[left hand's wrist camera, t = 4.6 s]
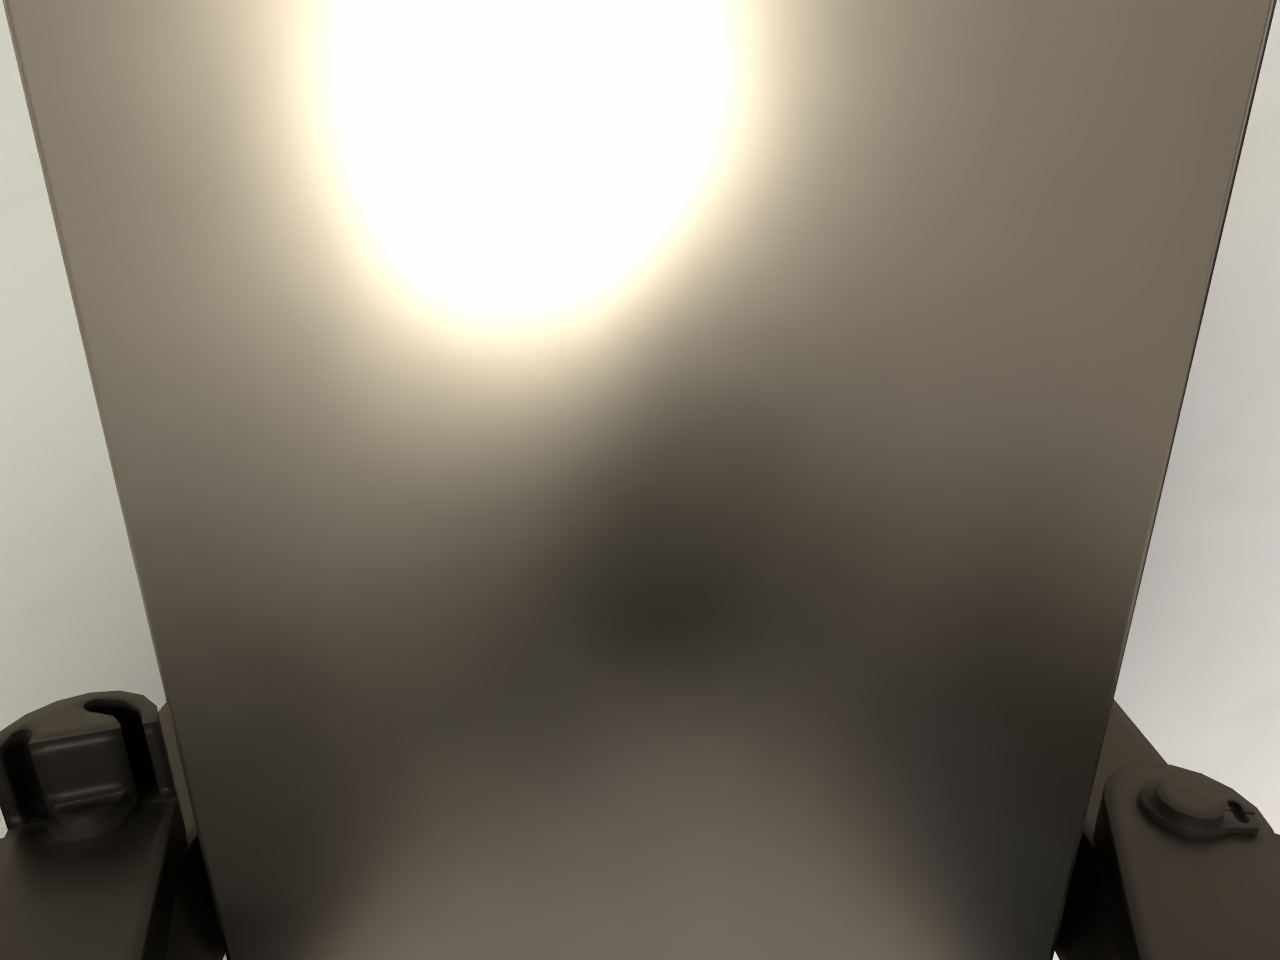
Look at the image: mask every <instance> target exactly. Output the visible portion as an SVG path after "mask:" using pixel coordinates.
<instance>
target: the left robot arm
mask: <svg viewBox="0 0 1280 960" xmlns="http://www.w3.org/2000/svg"><path fill="white" fill-rule="evenodd" d="M0 808H1V811H2V814H3V817H4V820H5V823H6V826H7V829H8V831H7V833H6V835H5V837H4V838H1V839H0V960H222V959H223V957H224V955H225V949H224V945H223V940H222V936H221V932H220V927H219V923H218V919H217V915H216V910H215V906H214V902H213V897H212V893H211V889H210V885H209V880H208V876H207V872H206V868H205V863H204V859H203V855H202V850H201V846H200V842H199V838H198V833H197V829H196V825H195V820H194V816H193V812H192V808H191V803H190V799H189V795H188V791H187V786H186V782H185V778H184V773H183V769H182V765H181V761H180V756H179V752H178V748H177V744H176V739H175V735H174V731H173V726H172V722H171V718H170V714H169V709H168V705H167V702H166V703H165V705H164V706H163V707H162V708H161V709H160V711H159V712H158V710H157V706H156V705H155V704H154V703H152V702H151V701H150V700H149V699H147V698H146V697H145V696H143V695H140V694H134V693H129V692H124V691H108V692H94V693H87V694H83V695H79V696H75V697H71V698H67V699H63V700H59V701H56V702H54V703H52V704H49V705H47V706H45V707H42V708H40V709H38V710H35V711H33V712H31V713H28V714H26V715H24V716H23V717H21V718H20V719H18V720H17V721H15V722H14V723H12V724H11V725H9V726H8V727H6V728H5V729H3V730H2V731H0ZM1055 952H1056V954H1057V956H1058V958H1059V960H1280V835H1279V834H1275V833H1274V831H1273V829H1272V828H1271V826H1270V825H1269V824H1268V822H1267V821H1266V820H1265V818H1264V817H1263V815H1262V814H1261V813H1260V811H1259V810H1258V809H1257V808H1256V807H1255V806H1254V805H1253V804H1251V803H1250V802H1249V801H1247V800H1246V799H1245V798H1243V797H1242V796H1241V795H1240V794H1238V793H1237V792H1236V791H1234V790H1233V789H1232V788H1230V787H1228V786H1226V785H1224V784H1222V783H1220V782H1217V781H1215V780H1213V779H1211V778H1209V777H1207V776H1205V775H1203V774H1201V773H1197V772H1194V771H1191V770H1187V769H1184V768H1180V767H1177V766H1173V765H1168V764H1167V763H1166V762H1165V760H1164V759H1163V758H1162V757H1161V756H1160V754H1159V753H1158V752H1157V751H1156V750H1155V748H1154V747H1153V746H1152V745H1151V744H1150V742H1149V741H1148V740H1147V739H1146V737H1145V736H1144V735H1143V734H1142V733H1141V731H1140V730H1139V729H1138V728H1137V727H1136V725H1135V724H1134V723H1133V722H1132V721H1131V719H1130V718H1129V717H1128V716H1127V715H1126V713H1125V712H1124V711H1123V710H1122V709H1121V707H1120V706H1119V705H1118V704H1117V702H1116V701H1115V700H1114V699H1113V703H1112V707H1111V711H1110V716H1109V720H1108V724H1107V728H1106V733H1105V737H1104V741H1103V746H1102V750H1101V754H1100V758H1099V763H1098V767H1097V771H1096V775H1095V780H1094V784H1093V788H1092V793H1091V797H1090V801H1089V805H1088V810H1087V814H1086V818H1085V823H1084V827H1083V831H1082V835H1081V840H1080V844H1079V848H1078V853H1077V857H1076V861H1075V865H1074V870H1073V874H1072V878H1071V883H1070V887H1069V891H1068V895H1067V900H1066V904H1065V908H1064V912H1063V917H1062V921H1061V925H1060V930H1059V934H1058V938H1057V942H1056V947H1055Z"/></svg>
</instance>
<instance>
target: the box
mask: <svg viewBox="0 0 1280 960" xmlns="http://www.w3.org/2000/svg"><path fill="white" fill-rule="evenodd" d="M1276 1H1277V0H3V4H4V8H5V12H6V16H7V21H8V25H9V29H10V33H11V38H12V42H13V46H14V51H15V55H16V59H17V63H18V68H19V72H20V76H21V81H22V85H23V89H24V93H25V98H26V102H27V106H28V110H29V115H30V119H31V123H32V128H33V132H34V136H35V140H36V145H37V149H38V153H39V157H40V162H41V166H42V170H43V175H44V179H45V183H46V187H47V192H48V196H49V200H50V205H51V209H52V213H53V217H54V222H55V226H56V230H57V234H58V239H59V243H60V247H61V252H62V256H63V260H64V264H65V269H66V273H67V277H68V282H69V286H70V290H71V294H72V299H73V303H74V307H75V311H76V316H77V320H78V324H79V329H80V333H81V337H82V341H83V346H84V350H85V354H86V359H87V363H88V367H89V371H90V376H91V380H92V384H93V388H94V393H95V397H96V401H97V406H98V410H99V414H100V418H101V423H102V427H103V431H104V436H105V440H106V444H107V448H108V453H109V457H110V461H111V465H112V470H113V474H114V478H115V483H116V487H117V491H118V495H119V500H120V504H121V508H122V513H123V517H124V521H125V525H126V530H127V534H128V538H129V542H130V547H131V551H132V555H133V560H134V564H135V568H136V572H137V577H138V581H139V585H140V590H141V594H142V598H143V602H144V607H145V611H146V615H147V619H148V624H149V628H150V632H151V637H152V641H153V645H154V649H155V654H156V658H157V662H158V667H159V671H160V675H161V679H162V684H163V688H164V692H165V696H166V701H167V705H168V709H169V714H170V718H171V722H172V726H173V731H174V735H175V739H176V744H177V748H178V752H179V756H180V761H181V765H182V769H183V773H184V778H185V782H186V786H187V791H188V795H189V799H190V803H191V808H192V812H193V816H194V820H195V825H196V829H197V833H198V838H199V842H200V846H201V850H202V855H203V859H204V863H205V868H206V872H207V876H208V880H209V885H210V889H211V893H212V897H213V902H214V906H215V910H216V915H217V919H218V923H219V927H220V932H221V936H222V940H223V945H224V949H225V953H226V957H227V960H1053V955H1054V951H1055V947H1056V942H1057V938H1058V934H1059V930H1060V925H1061V921H1062V917H1063V912H1064V908H1065V904H1066V900H1067V895H1068V891H1069V887H1070V883H1071V878H1072V874H1073V870H1074V865H1075V861H1076V857H1077V853H1078V848H1079V844H1080V840H1081V835H1082V831H1083V827H1084V823H1085V818H1086V814H1087V810H1088V805H1089V801H1090V797H1091V793H1092V788H1093V784H1094V780H1095V775H1096V771H1097V767H1098V763H1099V758H1100V754H1101V750H1102V746H1103V741H1104V737H1105V733H1106V728H1107V724H1108V720H1109V716H1110V711H1111V707H1112V703H1113V698H1114V694H1115V690H1116V686H1117V681H1118V677H1119V673H1120V668H1121V664H1122V660H1123V656H1124V651H1125V647H1126V643H1127V638H1128V634H1129V630H1130V626H1131V621H1132V617H1133V613H1134V609H1135V604H1136V600H1137V596H1138V591H1139V587H1140V583H1141V579H1142V574H1143V570H1144V566H1145V561H1146V557H1147V553H1148V549H1149V544H1150V540H1151V536H1152V531H1153V527H1154V523H1155V519H1156V514H1157V510H1158V506H1159V502H1160V497H1161V493H1162V489H1163V484H1164V480H1165V476H1166V472H1167V467H1168V463H1169V459H1170V454H1171V450H1172V446H1173V442H1174V437H1175V433H1176V429H1177V424H1178V420H1179V416H1180V412H1181V407H1182V403H1183V399H1184V394H1185V390H1186V386H1187V382H1188V377H1189V373H1190V369H1191V365H1192V360H1193V356H1194V352H1195V347H1196V343H1197V339H1198V335H1199V330H1200V326H1201V322H1202V317H1203V313H1204V309H1205V305H1206V300H1207V296H1208V292H1209V287H1210V283H1211V279H1212V275H1213V270H1214V266H1215V262H1216V258H1217V253H1218V249H1219V245H1220V240H1221V236H1222V232H1223V228H1224V223H1225V219H1226V215H1227V210H1228V206H1229V202H1230V198H1231V193H1232V189H1233V185H1234V180H1235V176H1236V172H1237V168H1238V163H1239V159H1240V155H1241V150H1242V146H1243V142H1244V138H1245V133H1246V129H1247V125H1248V121H1249V116H1250V112H1251V108H1252V103H1253V99H1254V95H1255V91H1256V86H1257V82H1258V78H1259V73H1260V69H1261V65H1262V61H1263V56H1264V52H1265V48H1266V43H1267V39H1268V35H1269V31H1270V26H1271V22H1272V18H1273V13H1274V9H1275V5H1276Z"/></svg>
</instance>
